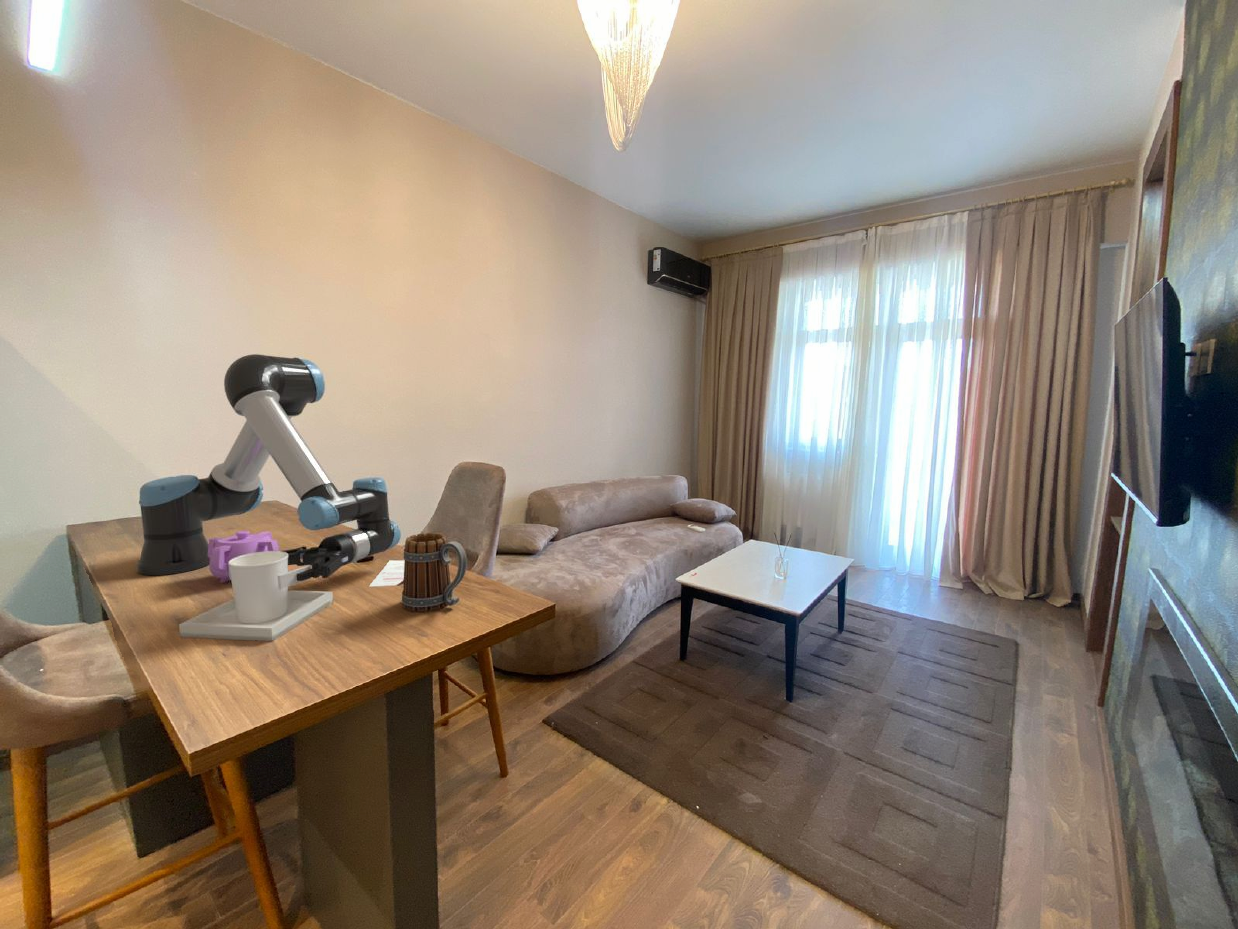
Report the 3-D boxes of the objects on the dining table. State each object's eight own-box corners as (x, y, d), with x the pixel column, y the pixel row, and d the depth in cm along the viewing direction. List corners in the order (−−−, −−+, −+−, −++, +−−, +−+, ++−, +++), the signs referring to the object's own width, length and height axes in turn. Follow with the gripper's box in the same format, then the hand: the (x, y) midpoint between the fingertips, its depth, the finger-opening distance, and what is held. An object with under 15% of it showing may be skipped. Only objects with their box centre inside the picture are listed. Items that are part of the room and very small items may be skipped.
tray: (180, 637, 93) (179, 624, 93) (255, 599, 111) (254, 588, 111) (272, 641, 92) (271, 628, 92) (333, 602, 110) (332, 591, 110)
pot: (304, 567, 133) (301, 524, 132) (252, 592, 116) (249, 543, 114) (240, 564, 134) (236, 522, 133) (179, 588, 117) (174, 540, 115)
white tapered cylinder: (246, 630, 95) (241, 569, 93) (224, 617, 100) (219, 559, 99) (301, 612, 103) (297, 556, 102) (278, 601, 108) (274, 548, 107)
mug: (391, 608, 108) (388, 540, 106) (426, 591, 118) (424, 529, 116) (448, 621, 102) (446, 549, 100) (481, 602, 112) (479, 537, 110)
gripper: (385, 570, 116) (302, 605, 96) (305, 558, 124) (213, 587, 104) (384, 539, 115) (299, 567, 95) (303, 528, 123) (209, 552, 103)
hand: (254, 578), depth 100 cm, fingers open, 13 cm apart
